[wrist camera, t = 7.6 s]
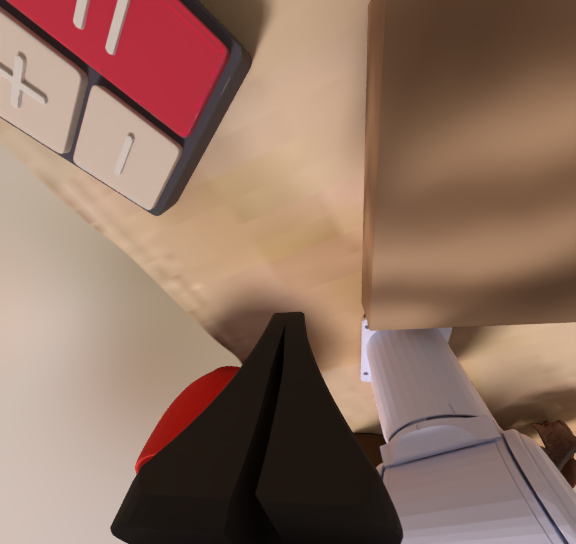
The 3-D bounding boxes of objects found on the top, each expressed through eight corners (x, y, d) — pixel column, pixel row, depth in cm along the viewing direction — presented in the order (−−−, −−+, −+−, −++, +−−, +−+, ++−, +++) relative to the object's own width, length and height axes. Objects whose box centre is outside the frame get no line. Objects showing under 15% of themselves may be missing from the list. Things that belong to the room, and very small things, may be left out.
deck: (536, 292, 20) (576, 322, 17) (361, 302, 22) (369, 330, 19) (716, -74, 10) (887, -157, 7) (368, 5, 12) (387, -33, 9)
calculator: (152, 224, 16) (-170, 22, 11) (179, 202, 19) (-54, 44, 14) (244, 45, 11) (-280, -484, 6) (257, 62, 14) (-59, -257, 9)
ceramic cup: (176, 409, 35) (132, 501, 26) (192, 333, 26) (135, 436, 17) (261, 431, 36) (245, 526, 28) (303, 368, 27) (300, 477, 19)
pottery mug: (458, 400, 29) (548, 464, 22) (510, 372, 32) (606, 421, 24) (455, 471, 33) (532, 548, 25) (502, 440, 35) (584, 501, 28)
